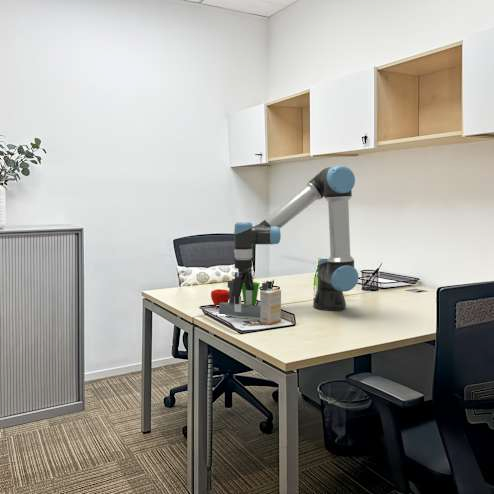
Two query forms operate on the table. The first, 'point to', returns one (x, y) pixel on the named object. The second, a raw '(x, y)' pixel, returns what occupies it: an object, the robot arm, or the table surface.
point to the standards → (231, 284)
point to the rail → (245, 310)
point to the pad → (245, 317)
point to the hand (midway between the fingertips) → (243, 308)
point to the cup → (254, 292)
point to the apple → (220, 296)
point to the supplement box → (270, 306)
